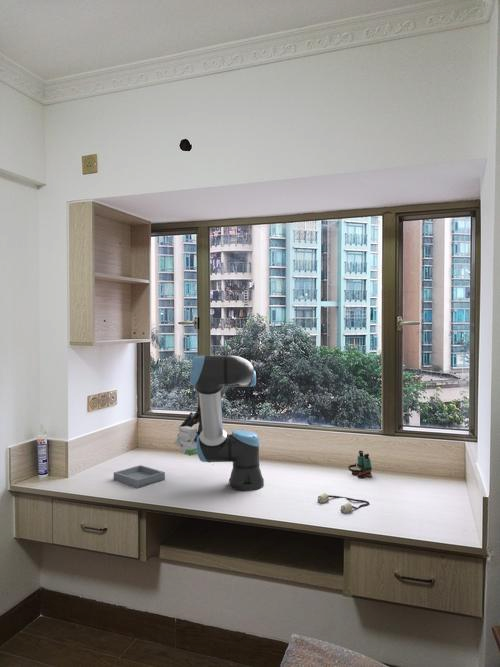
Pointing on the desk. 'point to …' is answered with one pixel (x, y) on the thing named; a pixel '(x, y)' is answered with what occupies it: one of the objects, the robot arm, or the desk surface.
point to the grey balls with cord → (345, 507)
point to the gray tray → (139, 476)
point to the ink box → (187, 440)
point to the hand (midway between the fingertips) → (183, 445)
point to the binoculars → (362, 466)
